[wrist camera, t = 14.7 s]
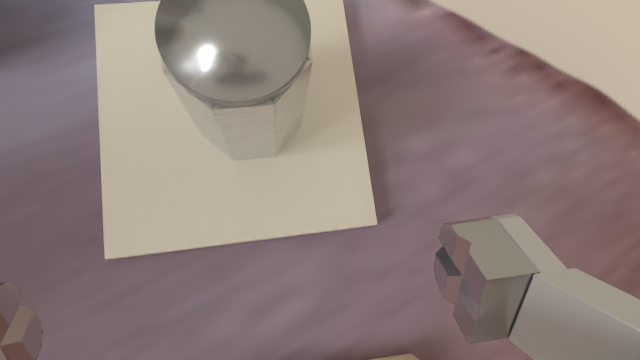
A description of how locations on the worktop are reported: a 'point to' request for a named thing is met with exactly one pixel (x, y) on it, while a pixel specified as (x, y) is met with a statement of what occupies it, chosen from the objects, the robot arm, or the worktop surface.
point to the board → (210, 162)
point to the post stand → (399, 357)
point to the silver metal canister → (238, 69)
